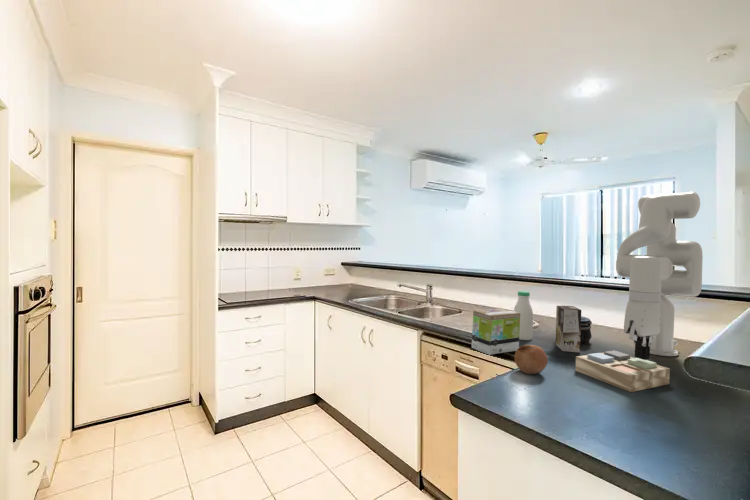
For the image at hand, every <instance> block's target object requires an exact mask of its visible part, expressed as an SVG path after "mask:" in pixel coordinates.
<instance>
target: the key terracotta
mask: <svg viewBox="0 0 750 500" xmlns="http://www.w3.org/2000/svg"><path fill="white" fill-rule="evenodd" d="M614 368H617V369H620V370H623V371H626V372H635V371H637V370H634V369H631V368H628V367H625V366H617V367H614Z"/></svg>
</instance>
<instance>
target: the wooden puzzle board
mask: <svg viewBox="0 0 750 500" xmlns="http://www.w3.org/2000/svg"><path fill="white" fill-rule="evenodd" d="M600 353H601V354H604V352H600ZM633 358H634V357H633V356H630V359H633ZM617 366H625V367H628V368H631V369H634V370H637V371H635V372H626V371H623V370H620V369H617V368H614V367H617ZM670 369H671V368H669V367H666V366H662V365H659V364H656V368H651V369H643V368H640V367H637V366H634V365H631V364H628V360H623V361H618V360H615V359H614V362H611V363H605V364H602V363H599V362H596V361H594V360H591V359H588V354H585V355H578V356H575V371H576V372H578V373H580V374H583V375H586V376H588V377H591V378H593V379H596V380H598V381H601V382H604V383H606V384H608V385H611V386H613V387H616V388H618V389H621V390H624V391H627V392H630V393H634V392H637V391H642V390H643V391H644V390H647V389H651V388H652V389H653V388H657V387H661V386H665V385H670V374H671V373H670Z"/></svg>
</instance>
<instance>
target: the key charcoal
mask: <svg viewBox="0 0 750 500" xmlns="http://www.w3.org/2000/svg"><path fill="white" fill-rule="evenodd" d="M603 353H604V355H608V356H611V357H614V359H615V360H618V361H623V360H628V359H630V357H631V354H627V353H624V352H621V351H619V350H618V351H617V350H615V349H613V350H608V351H604V352H603Z"/></svg>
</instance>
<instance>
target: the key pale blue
mask: <svg viewBox="0 0 750 500" xmlns="http://www.w3.org/2000/svg"><path fill="white" fill-rule="evenodd" d="M601 353H602V352H595V353H594V352H593V353H588V354H587V355H588V359H591V360H594V361H596V362H599V363H602V364H605V363H611V362H614V357H611V356H608V355H604V354H601Z"/></svg>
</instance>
